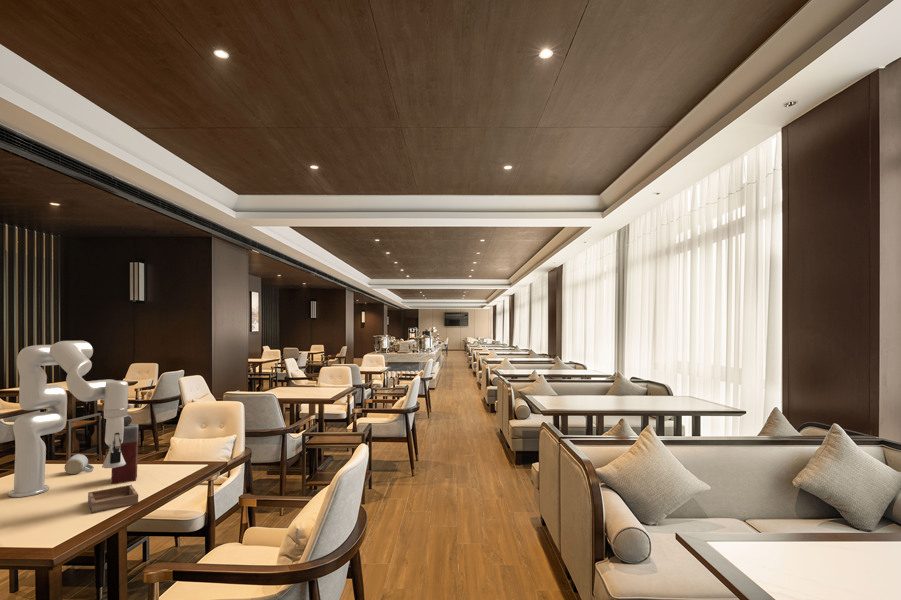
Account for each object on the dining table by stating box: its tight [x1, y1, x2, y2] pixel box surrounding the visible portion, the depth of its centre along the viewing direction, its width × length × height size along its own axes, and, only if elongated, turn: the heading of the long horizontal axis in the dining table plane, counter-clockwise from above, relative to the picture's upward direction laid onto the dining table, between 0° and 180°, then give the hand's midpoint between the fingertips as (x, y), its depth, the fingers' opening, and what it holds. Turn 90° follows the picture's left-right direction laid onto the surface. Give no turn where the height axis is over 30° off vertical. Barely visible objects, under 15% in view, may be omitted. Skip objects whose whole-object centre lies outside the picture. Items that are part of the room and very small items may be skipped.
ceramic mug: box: [64, 453, 95, 475], centre depth 228 cm, size 11×8×8 cm
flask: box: [101, 443, 126, 469], centre depth 187 cm, size 7×7×10 cm
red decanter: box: [110, 414, 139, 485], centre depth 217 cm, size 9×11×28 cm
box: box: [87, 484, 139, 514], centre depth 186 cm, size 16×14×4 cm
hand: (114, 460), depth 187 cm, fingers closed on flask, 5 cm apart
